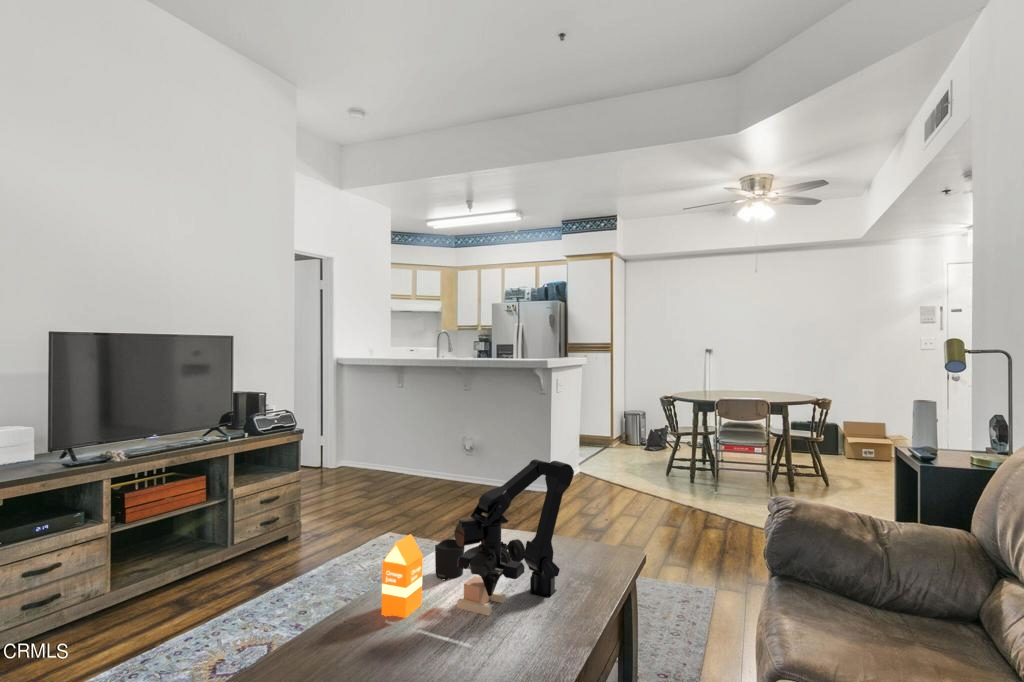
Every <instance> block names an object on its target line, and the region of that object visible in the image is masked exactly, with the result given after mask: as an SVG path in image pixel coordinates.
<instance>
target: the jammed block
mask: <svg viewBox="0 0 1024 682" xmlns="http://www.w3.org/2000/svg"><path fill="white" fill-rule="evenodd" d="M463 599H465V600H469V601H473V602H477V603H481V604H485V605H487V603H488V602H490V600H489V596H488V594H487V591H486V588H485V584H484V582H483V580H482V578H481V576H476V575H475V576H473V577H472V578H470V579H468V580H466V581H465V583H464V582H463Z"/></svg>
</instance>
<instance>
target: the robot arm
mask: <svg viewBox="0 0 1024 682" xmlns="http://www.w3.org/2000/svg"><path fill="white" fill-rule="evenodd" d="M574 474H575V470H574V469H573V467H572V465H571V464H568V463H565V462H563V461H562V462H561V461H558V460H552V461H550V462H547V461H543V460H540V459H536V458H535V459H532V460H530V462H529V463H528V464H527V465H526V466H525V467H523V469H521V470H520V471H519V472H517V473H516V474H515V475H514V476H512V477H511V478H510V479H509V480H507V482H505V483H504V484H502V485H501V486H499V487H496V488H493V489H491V490H488V491H486V492H485V493H483V494H481V496H480V497H479V498H478V503H477V505H476V507H474V509H473V511H472V513H471V514H470V518H467V519H459V520H458V524H457V525H456V526H455V528H454V529H455V530H454V533H453V534H454V539H455V540H456V543H457V545H458V546H460V547H461V546H464V547H465V546H466V547H467V546H470V545H475V544H479V543H480V544H479V545H478V546H479V547H478V552H477V554H476V553H471V552H467V553H465V554H464V555H462V556H460V557H459V559H458V567H459V568H463V570H466V569H468V568H470V569H469V570H470V573H471V575H475V576H476V575H477V576H478V577H480V578H482V580H483V582H484V584H485V588H486V591H487V594H488V596H492V594H493V592H495V589H496V587H497V584H498V582H499V580H500V578H501V577H502V576H504V578H507V579H511V580H517V579H518V578H519V577H521V576H523V574H525V568H526V567H525V565H524V563H523V562H522V561H519V562H517V561H512V560H510V562H509V563H508V564H505V563H501V561H502V560H503V556H501V546H503V543H504V541H502V524H508V523H509V520H508V519H507V518H506V517H505V515H504V514H505V513H506V511H507V510H508V509H509V508H510V506H511V503H512V501H513V500H514V498H516V497H517V496H518V495H519V494H521V493H522V492H523V491H524V490H526V489H527V488H528V487H530V485H532V484H533V483H534V482H535V481H536V480H538V479H539V478H540V477H541V476H545V479H544V480H545V485H546V493H545V497H544V501H543V506H542V508H541V509H542V510H541V513H540V517H539V521H538V526H537V529H536V533H535V536H534V538H532V539H531V541H529V540H527V541H526V543H525V551H524V553H523V554H524V555H525V556H524V559H523V561H524V562H525V564H526V565H527V566H528V570H529V571H532V572H531V576H530V579H529V580H530V583H529V584H530V586H529V587H530V588H529V590H530V592H529V594H530V595H533V596H537V597H541V598H547V599H550V598H551V597H552V596H553V595H554V594H555V593H556V592H557V589H556V587H555V586H556V577H559V573H560V571H561V570H560V567H558V565H557V564H556V563H555V562H554V561H553V560H554V549H553V543H552V540H553V536H554V533H555V532H554V531H555V528H556V523H557V520H558V515H559V512H560V507H561V503H562V499H563V495H564V494H565V492H566V491H567V490H568V489H569V488H570V486H571V484H572V481H573V478H574ZM483 514H484V515H483ZM486 515H487V516H486Z"/></svg>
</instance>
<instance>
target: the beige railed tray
mask: <svg viewBox="0 0 1024 682" xmlns="http://www.w3.org/2000/svg"><path fill="white" fill-rule="evenodd" d="M489 601H493V602H497V603H500V604H504V603H505V602H506V601H507V599H506V594H505V593H502V592H497V591H494V592H493V594H492V596H489ZM456 602H457V603H456V604H457V606H456V607H457V608H459V609H462V610H465V611H470V612H474V613H477V614H482V615H485V616H488V617H489V616H490V615H491V614H492V605H488V604H481V603H477V602H473V601H469V600H465V599H464V598H459V599H458V600H457V601H456Z"/></svg>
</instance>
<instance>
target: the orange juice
mask: <svg viewBox="0 0 1024 682" xmlns="http://www.w3.org/2000/svg"><path fill="white" fill-rule="evenodd" d="M394 543H395V544H394V545H393V546H392V547H391V550H390V551H389V553H388V554H387V555H386V557H385V558H384V559H383V561H382V569H381V570H382V574H381V575H382V577H381V579H382V581H381V616H382V615H384V616H383V617H387V616H390V617H391V616H394V617H400V618H404V619H406V618H408V617H409V616H410V615H411V614H412V613H413V612H414V611H416V610H417V609H418V608H419V607H420V606H422V605H423V604H422V601H423V599H422V598H423V557H424V556H423V553H422V551H421V550H420V547H419V545H418V544H417V542H416V539H415V538H414V537H413V535H412V533H410V534H408V535H406V536H405V537H403V538H402V539H400V540H398V541H396V542H394Z"/></svg>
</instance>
